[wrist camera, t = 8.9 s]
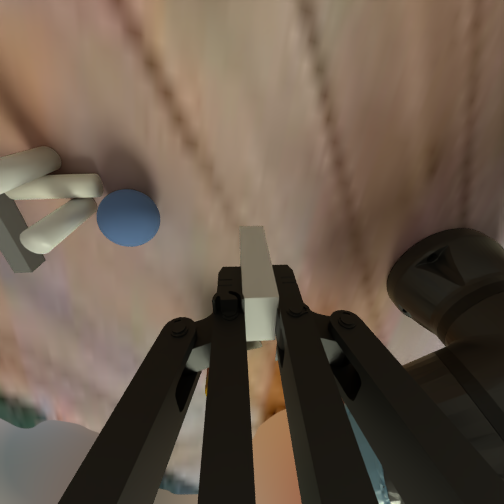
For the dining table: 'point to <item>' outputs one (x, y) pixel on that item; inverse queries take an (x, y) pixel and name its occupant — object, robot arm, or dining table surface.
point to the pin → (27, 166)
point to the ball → (128, 217)
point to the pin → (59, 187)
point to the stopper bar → (15, 238)
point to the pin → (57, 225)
